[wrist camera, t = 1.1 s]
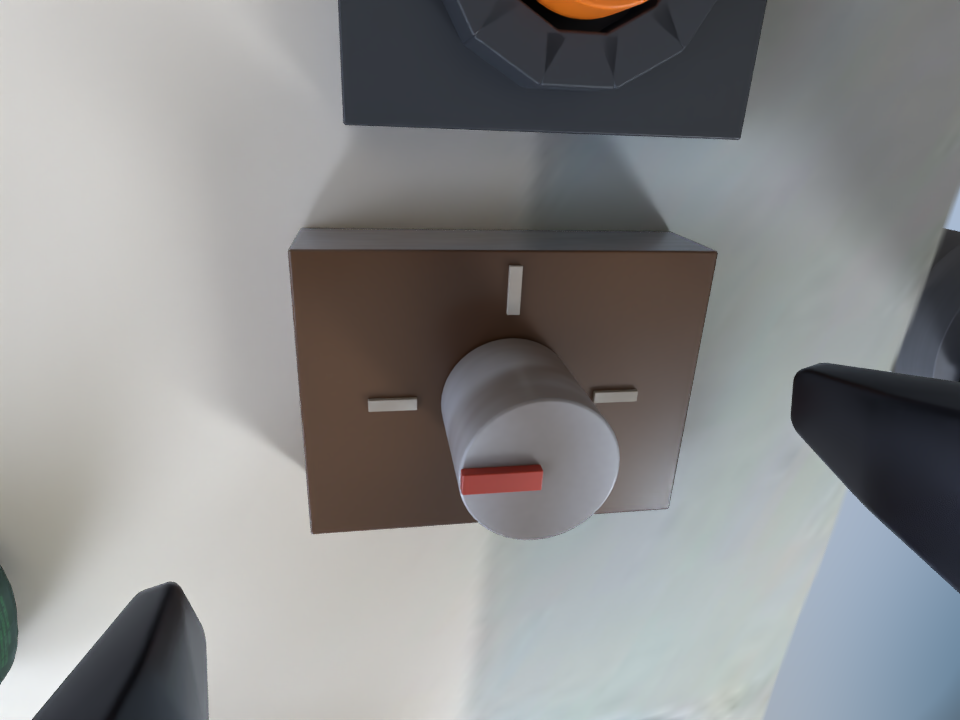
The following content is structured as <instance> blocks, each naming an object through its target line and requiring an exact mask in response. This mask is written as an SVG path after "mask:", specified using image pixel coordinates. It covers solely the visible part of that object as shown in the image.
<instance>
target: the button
mask: <svg viewBox="0 0 960 720" xmlns="http://www.w3.org/2000/svg"><path fill="white" fill-rule="evenodd" d="M537 1H538V2H539V3H540V4H541V5H543V6H544V7H546V8H547V9H549V10H551V11H553V12H555V13H557V14H559V15H562V16H565V17H568V18H573V19H580V20H592V19H598V18H603V17H606V16H609V15H613V14H615V13H618V12H621V11H623V10H626V9H629V8H631V7H634V6H637V5H640V4H642V3H644V2H646V1H648V0H537Z"/></svg>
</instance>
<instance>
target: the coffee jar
mask: <svg viewBox="0 0 960 720" xmlns="http://www.w3.org/2000/svg"><path fill="white" fill-rule="evenodd" d="M17 637H18V626H17V610H16V604H15V599H14V595H13V591H12V587H11V585H10V583H9V581H8V579H7V577H6V574H5V572H4V570H3V569H2V567H1V566H0V684H1V682H2V681H3V679H4V678H5V677H6V675H7V673H8V672H9V670H10V668H11V666H12V664H13V662H14V659H15V654H16V649H17Z"/></svg>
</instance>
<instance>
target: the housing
mask: <svg viewBox="0 0 960 720" xmlns="http://www.w3.org/2000/svg"><path fill="white" fill-rule="evenodd" d="M766 3H767V0H648V1H646V2H644V3H642V4H640V5H637V6H634V7H631V8H629V9H626V10H623V11H621V12H618V13H615V14H613V15H609V16H606V17H603V18H598V19H592V20H580V19H573V18H568V17H565V16H562V15H559V14H557V13H555V12H553V11H551V10H549V9H547V8H546V7H544V6H543V5H541V4H540V3H539V2H538V1H537V0H338V10H339V34H340V57H341V80H342V104H343V123H344V124H345V125H362V126H388V127H414V128H441V129H467V130H493V131H520V132H546V133H572V134H599V135H625V136H652V137H678V138H704V139H731V140H738V139H740V138H741V132H742V127H743V122H744V117H745V112H746V106H747V101H748V96H749V91H750V86H751V81H752V75H753V70H754V65H755V60H756V55H757V49H758V44H759V39H760V34H761V29H762V23H763V18H764V13H765V8H766Z"/></svg>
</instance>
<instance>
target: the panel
mask: <svg viewBox="0 0 960 720" xmlns="http://www.w3.org/2000/svg"><path fill="white" fill-rule="evenodd" d="M717 254H718V253H717V251H715V250H713V249H710V248H708V247H706V246H703V245H701V244H699V243H696V242H694V241H692V240H689V239H687V238H684V237H682V236H680V235H677V234H675V233H673V232H639V231H540V230H441V229H341V228H301V229H300V230H299V232H298V234H297V236H296V238H295V239H294V241H293V243H292V245H291V246H290V248H289V250H288V258H289V271H290V283H291V295H292V307H293V320H294V332H295V344H296V357H297V369H298V381H299V393H300V406H301V418H302V430H303V442H304V455H305V467H306V479H307V491H308V504H309V516H310V528H311V533H312V534H322V533H336V532H350V531H364V530H378V529H392V528H406V527H420V526H434V525H448V524H462V523H476V522H478V521H477V520H475V519H474V518H473V516H472V515H471V514H470V513H469V511H468V510H467V508H466V506H465V505H464V503H463V500H462V498H461V495H460V491H459V487H458V482H457V478H456V473H455V469H454V465H453V460H452V456H451V452H450V447H449V443H448V438H447V434H446V430H445V425H444V421H443V416H442V412H441V399H442V392H443V388H444V385H445V383H446V380H447V378H448V376H449V375H450V373H451V371H452V370H453V368H454V367H455V366H456V365H457V363H458V362H459V361H460V360H461V359H462V358H463V357H465V356H466V355H467V354H468V353H469V352H471V351H473V350H474V349H476V348H477V347H480V346H482V345H484V344H486V343H489V342H492V341H496V340H500V339H509V338H518V339H526V340H531V341H534V342H537V343H539V344H541V345H544V346H545V347H547V348H548V349H550V350H552V351H553V352H554V353H555V354H556V355H557V356H558V357H559V358H560V359H561V360H562V362H563V363H564V364H565V366H566V367H567V368H568V370H569V371H570V372H571V374H572V375H573V376H574V378H575V379H576V380H577V382H578V383H579V384H580V386H581V387H582V388H583V390H584V391H585V393H586V394H587V395H588V397H589V398H590V399H591V401H592V402H593V403H594V405H595V406H596V407H597V409H598V410H599V411H600V413H601V414H602V415H603V417H604V418H605V419H606V421H607V422H608V423H609V425H610V427H611V428H612V430H613V432H614V434H615V436H616V439H617V442H618V447H619V455H620V461H619V470H618V475H617V479H616V481H615V484H614V487H613V489H612V490H611V492H610V494H609V496H608V497H607V499H606V500H605V502H604V503H603V504H602V505H601V507H600V508H599V509H598V510H597V511H596V512H595V513H594V514H602V513H616V512H630V511H644V510H658V509H668V508H669V504H670V498H671V493H672V488H673V483H674V478H675V472H676V467H677V462H678V457H679V452H680V447H681V441H682V436H683V431H684V426H685V421H686V415H687V410H688V405H689V400H690V395H691V389H692V384H693V379H694V374H695V369H696V363H697V358H698V353H699V348H700V343H701V337H702V332H703V327H704V322H705V317H706V311H707V306H708V301H709V296H710V291H711V285H712V280H713V275H714V270H715V265H716V259H717Z"/></svg>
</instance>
